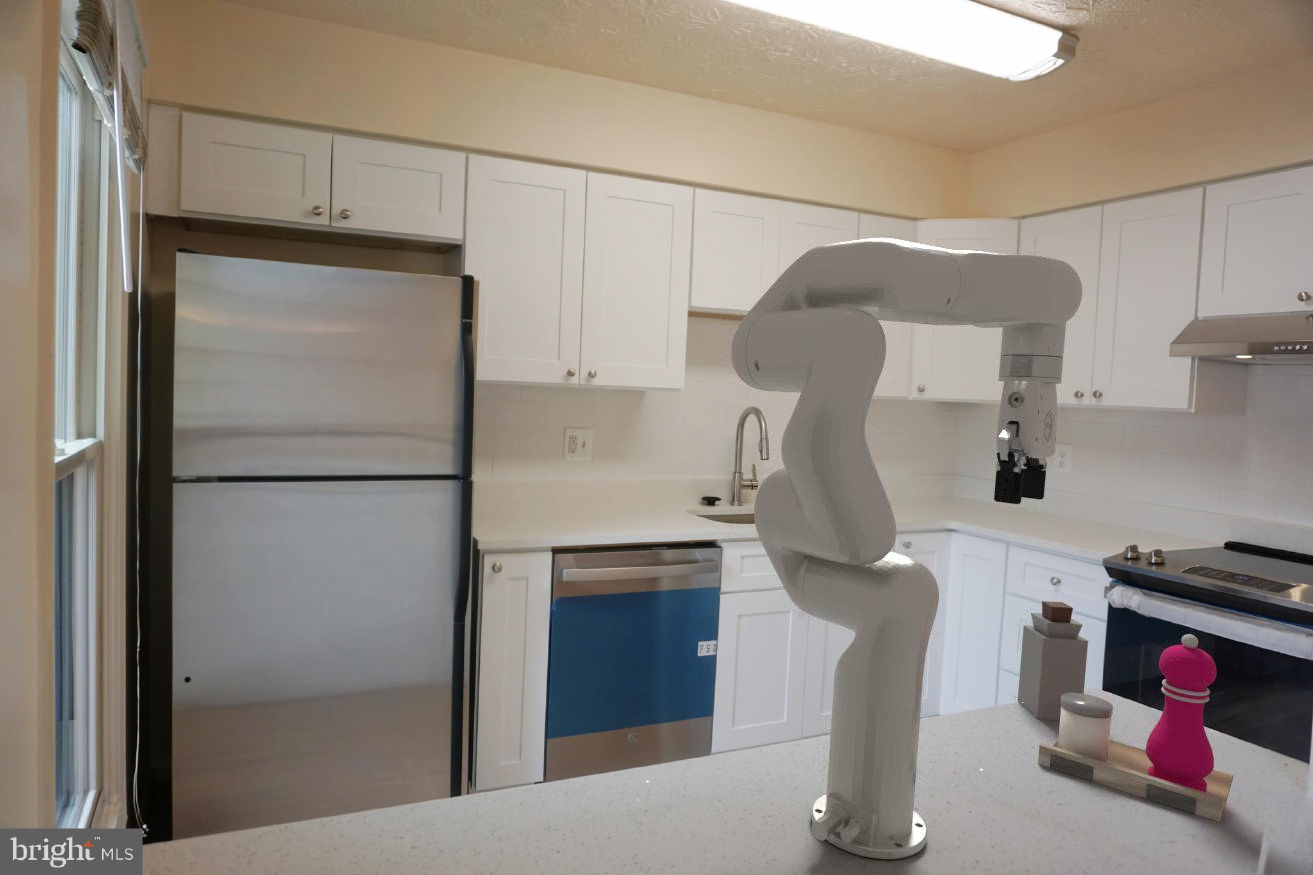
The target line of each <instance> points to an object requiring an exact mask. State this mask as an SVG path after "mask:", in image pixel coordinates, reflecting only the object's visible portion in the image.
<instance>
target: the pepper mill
mask: <svg viewBox="0 0 1313 875" xmlns="http://www.w3.org/2000/svg"><path fill="white" fill-rule="evenodd" d="M1198 645H1199V640H1198V637H1196V636H1195V635H1193V634H1190V633H1188V634H1184V635H1182V637H1181V644H1177V645H1171V646H1169V647H1167V648H1165V649H1164V650H1163V651H1162V653H1161V654H1160V658H1159V662H1158V668H1159V670H1160V672H1161V674H1162V675H1163V676H1164V679H1163V680H1162V682H1161V684H1162V687H1161V689H1160V690H1161V692H1162V693H1163V694H1164V706H1163V710H1162V713H1161V715H1160V718H1159V719H1158V721H1157V723H1156V724H1155V726H1154V728H1153V729H1152V731H1150V734H1149V736H1148V739H1147V742H1146V746H1145V750H1146V754H1147V757H1148V758H1149V760H1150V761H1151V763H1152V764H1153V766H1151V767H1149V769H1148V775H1149V776H1153V777H1156V778H1159V779H1162V780H1166V781H1169V782H1172V783H1176V784H1179V785H1182V786H1185V787H1189V788H1192V789H1195V790H1199V791H1202V792H1205V793H1206V792H1207V783H1206V781H1205V780H1204V779H1203V778H1204V777H1206V776H1207V775H1209V774H1210V773H1211V772H1212V771H1213V770H1214V769H1215V757H1214V751H1213V749H1212V746H1211V743H1210V741H1209V738H1208V735H1207V733H1206V730H1205V725H1204V709H1205V703H1207V702H1209V701H1210V697H1209V695H1210V693H1211V691H1210V689H1209V688H1208V687H1209V686H1210V685H1211V684H1213V682H1214V681H1215V680H1216V678H1217V672H1218V671H1217V666H1216V662H1215V660H1214V659H1213V658H1212V656H1211V655H1210V654H1209V653H1207V652H1206V651H1204V649H1203V650H1202V649H1201V648H1198Z"/></svg>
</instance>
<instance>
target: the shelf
mask: <svg viewBox="0 0 1313 875" xmlns="http://www.w3.org/2000/svg"><path fill="white" fill-rule="evenodd" d="M1038 747H1039V749H1038V760H1037V764H1038V765H1041V766H1044V767H1048V768H1049V769H1051V770H1055V771H1059V772H1061V773H1065V774H1068V775H1071V776H1074V777H1077V778H1081V779H1083V780H1087V781H1090V782H1094V783H1096V784H1097V783H1098V784H1101V785H1103V786H1107V787H1110V788H1112V789H1116V790H1119V791H1122V792H1126V793H1129V794H1130V795H1131V794H1132V795H1135V796H1137V797H1142V798H1144V799H1145V800H1149V801H1152V802H1154V803H1158V804H1162V805H1164V806H1167V807H1170V808H1173V809H1176V810H1180V811H1184V812H1187V813H1189V814H1192V815H1197V816H1200V817H1203V818H1207V819H1210V820H1213V821H1216V822H1218V823H1221V821H1222V817H1223V814H1224V811H1225V807H1226V803H1227V799H1228V795H1229V792H1230V789H1231V784H1232V782H1233V778H1234V775H1233V774H1229V773H1226V772H1224V771H1220V770H1216V769H1213V771H1212V772H1211V773H1210V774H1209V775H1207V776H1206V777H1204V778H1203V779H1204V780H1205V781H1206V783H1207V792H1206V793H1205V792H1202V791H1199V790H1195V789H1192V788H1189V787H1185V786H1182V785H1179V784H1176V783H1172V782H1169V781H1166V780H1162V779H1159V778H1156V777H1153V776H1149V775H1148V769H1149V767H1151V766H1153V764H1152V763H1151V761H1150V760H1149V758H1148V757H1147V754H1146V749H1142V748H1138V747H1135V746H1134V745H1133V746H1132V745H1129V744H1125V743H1122V742H1119V741H1114V740H1111V739H1109V750H1108V761H1107V762H1103V761H1100V760H1097V759H1093V758H1090V757H1087V756H1084V755H1080V754H1077V753H1074V752H1070V751H1067V750H1064V749H1061V748H1058V740H1056V742H1054V744H1053V745H1050V744H1047V743H1044V742H1040V744H1039V746H1038Z"/></svg>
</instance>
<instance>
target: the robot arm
mask: <svg viewBox="0 0 1313 875" xmlns="http://www.w3.org/2000/svg"><path fill="white" fill-rule="evenodd" d="M1082 298H1083V286H1082V281H1081V278H1080V276H1079V274H1078V273H1077V271H1076V269H1075V268H1073V266H1072V265H1070V264H1069V263H1067V262H1066V261H1063V260H1060V259H1056V258H1051V257H1047V256H1041V255H1040V256H1039V255H1031V254H1030V255H1029V254H1019V253H1018V254H1014V253H1000V252H999V253H998V252H985V251H976V250H956V249H955V250H953V249H947V248H941V247H938V246H937V247H936V246H932V245H931V246H930V245H926V244H922V243H921V244H920V243H916V242H910V241H906V240H900V239H897V238H896V239H894V238H885V237H879V238H878V237H877V238H876V237H875V238H873V237H872V238H866V239H865V238H864V239H859V240H858V239H857V240H852V241H850V240H849V241H845V242H838V243H831V244H829V243H828V244H823V245H820V246H819V245H818V246H815V247H813V248H811V249H809V250H807V251H806V252H805V253H804V254H802V255H801V256H800V257H798V258H797V259H796V260H795V261H794V262H793V263H791V265H789V266H788V267H787V268H786V269H785V271H784V272H783V273H781V275H779V277H778V278H777V279H776V281H775V282H774V283H773V284H772V285H771V286H770V287H769V288H768V289H767V291H766V292H765V293H764V294H763V295H762V296H761V297H760V298H759V300H757V302H756V303H755V304H754V305H753V306H752V307H751V309H750V310H749V311H748V312H747V313H746V315H745V316H744V317H743V319H742V320H741V321H740V323H739V324H738V326H737V328H736V330H735V332H734V335H733V339H732V342H731V350H730V355H731V356H730V357H731V362H732V366H733V369H734V370H735V373H736V375H737V376H738V378H739V379H740V380H741V381H742V382H743V383H745V384H746V385H747V386H748V387H751V388H753V389H756V390H758V391H764V392H778V393H799V394H800V395H799V398H798V400H797V402H796V404H795V407H794V409H793V412H792V414H791V416H790V418H789V421H788V422H787V425H786V427H785V429H784V432H783V436H782V438H781V448H780V449H781V450H780V451H781V452H780V453H781V458H782V459H781V460H782V463H783V465H784V468H779V469H777V470H775V471H773V472H771V473H770V474H769V475H768V476H766V478H765V479H764V480H763V481H762V482H761V484H760V486H759V488H758V490H757V492H756V495H755V496H756V497H755V501H754V507H753V514H754V525H755V530H756V532H757V535H758V538H759V540H760V542H761V545H762V547H763V549H764V551H765V553H766V555H767V557H768V558H769V561H770V563H771V565H772V567H773V569H774V571H775V574H776V575H777V577H778V579H779V581H780V584H782V586H783V588H784V590H785V592H786V594H787V596H788V597H789V599H790V601H791V602H792V603H793V604H794V605H795V606H796V607H797V608H798V609H799V610H801V611H802V612H804V613H805V614H807V615H809V616H811V617H814V618H817V619H820V620H823V621H825V622H829V623H832V624H835V625H837V626H840V627H843V628H845V629H848V630H850V631H853V632H854V638H853V640H852V641H851V643H850V644H849V645H848V647H847V648H846V649H845V650H844V652H843V653H842V654H841V655H840V657H839V658H838V661H837V663H836V665H835V669H834V674H833V685H832V686H833V688H832V690H833V691H832V692H833V693H832V705H831V706H832V707H831V708H832V709H831V719H830V720H831V722H830V736H829V739H830V740H829V752H828V764H827V765H828V768H827V785H826V794H823V795H821V796H820V797H818V798H817V799H816V800H815V802H814V803H813V804H812V807H811V815H810V816H811V823H812V824H811V830H810V831H811V833H812V835H813V836H814V838H815V839H817V840H819V841H825V840H826V841H827V842H829V843H830V844H832V845H834V846H836V847H837V848H839V849H841V850H844V851H846V852H848V853H851V854H854V855H858V856H861V857H865V858H866V857H867V858H871V859H879V860H896V859H897V860H898V859H902V858H907V857H911V856H913V855H915V854H917V853H919V852H920V851H921V850H922V849H923V848H925V845H926V843H927V835H928V828H927V825H926V823H925V822H924V820H923V818H922V817H921V816H920V815H919V813H917V812H916V811H915V810H914V809H915V808H914V807H915V805H914V804H915V796H916V795H915V793H916V782H917V781H916V779H917V766H918V752H919V751H918V750H919V740H920V738H919V737H920V726H921V713H922V699H923V698H922V697H923V686H924V685H923V682H924V673H925V672H924V671H925V664H926V656H927V651H928V646H929V641H930V638H931V634H932V629H933V627H934V624H935V623H934V622H935V619H936V616H937V612H938V607H939V599H940V590H939V585H938V581H937V579H936V577H935V576H934V574H933V573H932V571H931V570H930V569H929V568H928V567H927V566H926V565H924V564H923V563H922V562H920V561H918V560H916V559H915V558H912V557H910V556H908V555H905V554H902V553H898V552H895V551H892V550H893V548H894V546H895V544H896V538H897V525H896V518H895V515H894V512H893V509H892V505H891V503H890V501H889V498H888V495H887V493H886V490H885V488H884V486H883V482H882V481H881V478H880V476H879V473H878V470H877V468H876V465H875V463H874V460H873V458H872V455H871V452H870V449H869V446H868V445H869V444H868V442H867V438H866V422H867V418H868V412H869V408H870V405H871V403H872V399H873V396H874V393H875V391H876V387H877V385H878V383H879V379H880V377H881V375H882V371H883V368H884V366H885V361H886V357H887V356H886V355H887V342H886V336H885V333H884V332H885V331H884V328H883V326H882V325H881V323H880V322H879V321H883V322H884V321H885V322H886V321H887V322H897V323H908V324H909V323H911V324H920V325H929V326H973V327H976V328H982V329H990V328H991V329H993V328H994V329H995V328H997V329H999V328H1001V329H1002V332H1001V333H1002V334H1001V344H1000V357H999V358H1000V359H999V370H998V380H997V381H998V382H1003V386H1002V391H1001V397H1000V398H1001V399H1000V405H999V411H998V421H997V432H996V450H997V452H996V458H997V461H996V465H995V482H994V483H995V484H994V493H993V500H994V502H997V503H1003V504H1009V505H1011V504H1012V505H1020V504H1021V503H1022V499H1023V498H1025V499H1033V500H1043V499H1044V498H1045V491H1046V490H1045V489H1046V480H1047V479H1046V478H1047V466H1048V464H1047V463H1048V462H1047V458H1048V459H1049V458H1050V457H1052V456H1054V455H1055V453H1056V448H1057V446H1056V445H1057V444H1056V443H1057V420H1058V419H1057V417H1058V414H1057V413H1058V399H1057V398H1058V396H1057V394H1058V393H1057V385H1058V384H1062V377H1063V376H1062V375H1063V364H1064V353H1065V352H1064V351H1065V342H1066V341H1065V340H1066V329H1067V322H1069V321H1070V320H1072V318H1073V317H1074V316H1075V314H1076V313H1077V312H1078V310H1079V308H1080V306H1081V303H1082Z"/></svg>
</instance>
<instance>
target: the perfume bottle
mask: <svg viewBox="0 0 1313 875" xmlns="http://www.w3.org/2000/svg"><path fill="white" fill-rule="evenodd" d="M1073 611H1074V607H1072V606H1070V605H1068V604H1067V603H1064V602H1062V601H1047V600H1042V601H1041V613H1040V612H1038V613H1037V612H1031V613H1030V615H1031V620H1032V625H1024V624H1023V628H1022V642H1021V654H1020V667H1019V679H1018V680H1019V681H1018V690H1017V691H1018V693H1017V702H1018V704H1020V705H1021V706H1022V707H1023V708H1025V709H1026V711H1028V712H1029V713H1030V714H1031V715H1032V716H1033V717H1034V718H1035V719H1038V720H1053V721H1054V720H1055V721H1060V715H1061V696H1062V695H1063V694H1065V693H1082V694H1085V683H1086V682H1085V681H1086V670H1087V657H1088V649H1089V648H1088V647H1089V646H1088V645H1089V640H1087V639H1086V638H1085V637H1083V636H1081V635H1079V634H1080V632H1081V630H1082V627H1083V624H1082V623H1080V622H1079V621H1077V620H1075V619H1073V618H1072V616H1073ZM1022 702H1024V703H1022Z"/></svg>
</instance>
